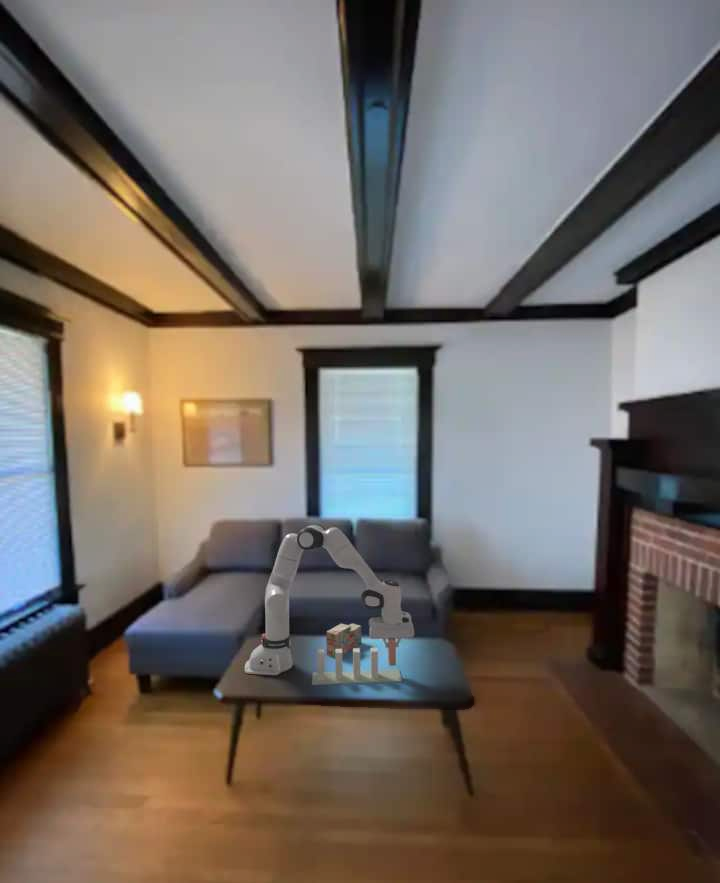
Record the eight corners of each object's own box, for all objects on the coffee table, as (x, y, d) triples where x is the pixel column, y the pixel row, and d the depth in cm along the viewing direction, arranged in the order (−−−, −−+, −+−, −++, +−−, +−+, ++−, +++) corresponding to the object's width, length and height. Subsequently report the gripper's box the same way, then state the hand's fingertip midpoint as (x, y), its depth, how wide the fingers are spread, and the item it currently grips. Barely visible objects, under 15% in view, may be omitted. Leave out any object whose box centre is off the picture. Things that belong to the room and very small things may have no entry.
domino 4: (371, 678, 214) (371, 651, 214) (370, 673, 218) (370, 647, 218) (378, 677, 214) (377, 651, 214) (377, 673, 218) (377, 647, 218)
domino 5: (389, 665, 215) (389, 639, 214) (388, 661, 219) (387, 635, 218) (395, 665, 215) (395, 639, 215) (394, 661, 219) (394, 635, 219)
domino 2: (335, 679, 213) (335, 652, 213) (335, 675, 217) (335, 648, 217) (342, 679, 213) (342, 652, 213) (342, 674, 217) (342, 648, 217)
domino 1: (317, 680, 213) (317, 653, 213) (318, 675, 217) (317, 649, 217) (324, 679, 213) (324, 653, 213) (324, 675, 217) (324, 649, 217)
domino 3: (353, 678, 214) (353, 652, 213) (353, 674, 218) (353, 648, 217) (360, 678, 214) (360, 652, 214) (359, 674, 218) (359, 648, 218)
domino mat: (311, 685, 210) (311, 683, 210) (312, 673, 220) (312, 672, 220) (402, 681, 212) (402, 680, 212) (399, 670, 222) (399, 669, 222)
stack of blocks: (352, 640, 255) (352, 617, 255) (361, 643, 251) (361, 620, 251) (326, 655, 238) (326, 631, 238) (336, 659, 234) (335, 634, 234)
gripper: (369, 620, 213) (369, 651, 213) (414, 618, 214) (415, 649, 214) (368, 614, 219) (368, 644, 219) (412, 613, 220) (412, 643, 220)
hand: (391, 646), depth 217 cm, fingers closed on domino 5, 3 cm apart
